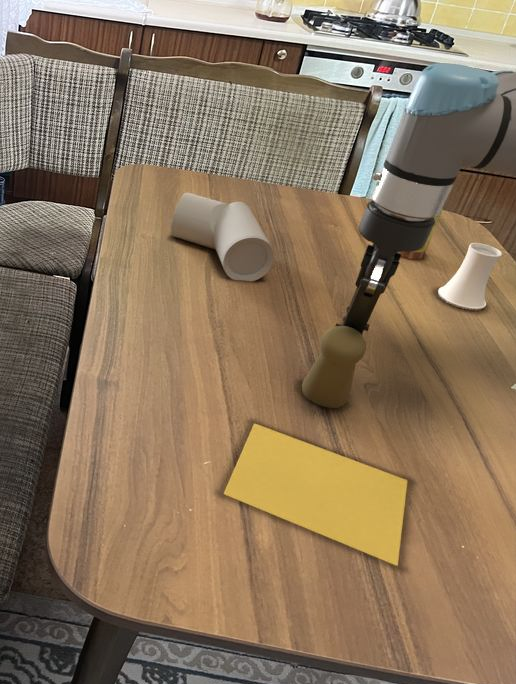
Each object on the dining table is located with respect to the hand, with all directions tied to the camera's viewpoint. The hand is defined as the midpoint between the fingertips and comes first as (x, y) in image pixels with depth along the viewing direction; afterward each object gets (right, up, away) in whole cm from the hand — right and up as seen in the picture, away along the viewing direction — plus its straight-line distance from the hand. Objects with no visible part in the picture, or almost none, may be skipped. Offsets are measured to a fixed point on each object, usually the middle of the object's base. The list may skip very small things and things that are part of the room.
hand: (333, 369), depth 93 cm
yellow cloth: (-8, -13, -16) cm, 22 cm away
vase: (+32, +11, +25) cm, 42 cm away
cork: (-2, -3, -1) cm, 4 cm away
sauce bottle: (+30, +21, +40) cm, 54 cm away
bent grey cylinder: (-8, +19, +31) cm, 38 cm away
